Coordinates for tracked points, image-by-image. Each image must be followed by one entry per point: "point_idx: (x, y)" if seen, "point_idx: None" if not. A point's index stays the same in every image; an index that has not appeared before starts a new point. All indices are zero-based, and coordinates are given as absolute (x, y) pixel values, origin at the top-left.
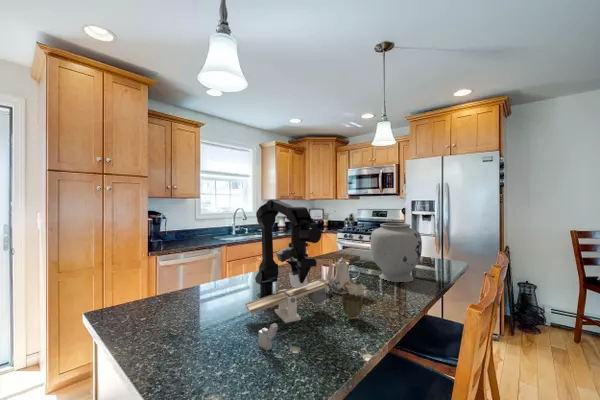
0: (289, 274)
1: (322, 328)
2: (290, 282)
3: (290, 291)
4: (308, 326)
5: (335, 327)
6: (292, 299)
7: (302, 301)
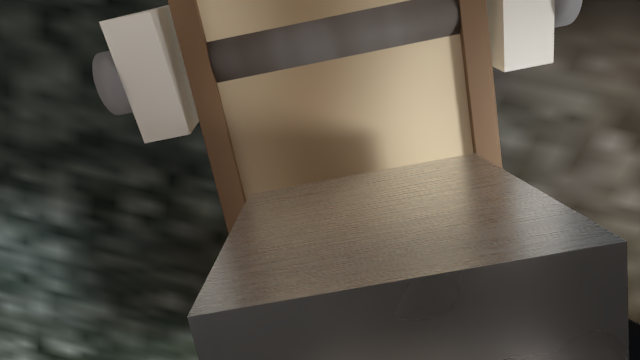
0: (543, 235)
1: (36, 222)
2: (483, 167)
3: (401, 111)
4: (74, 139)
5: (51, 297)
6: (102, 75)
7: (592, 211)
